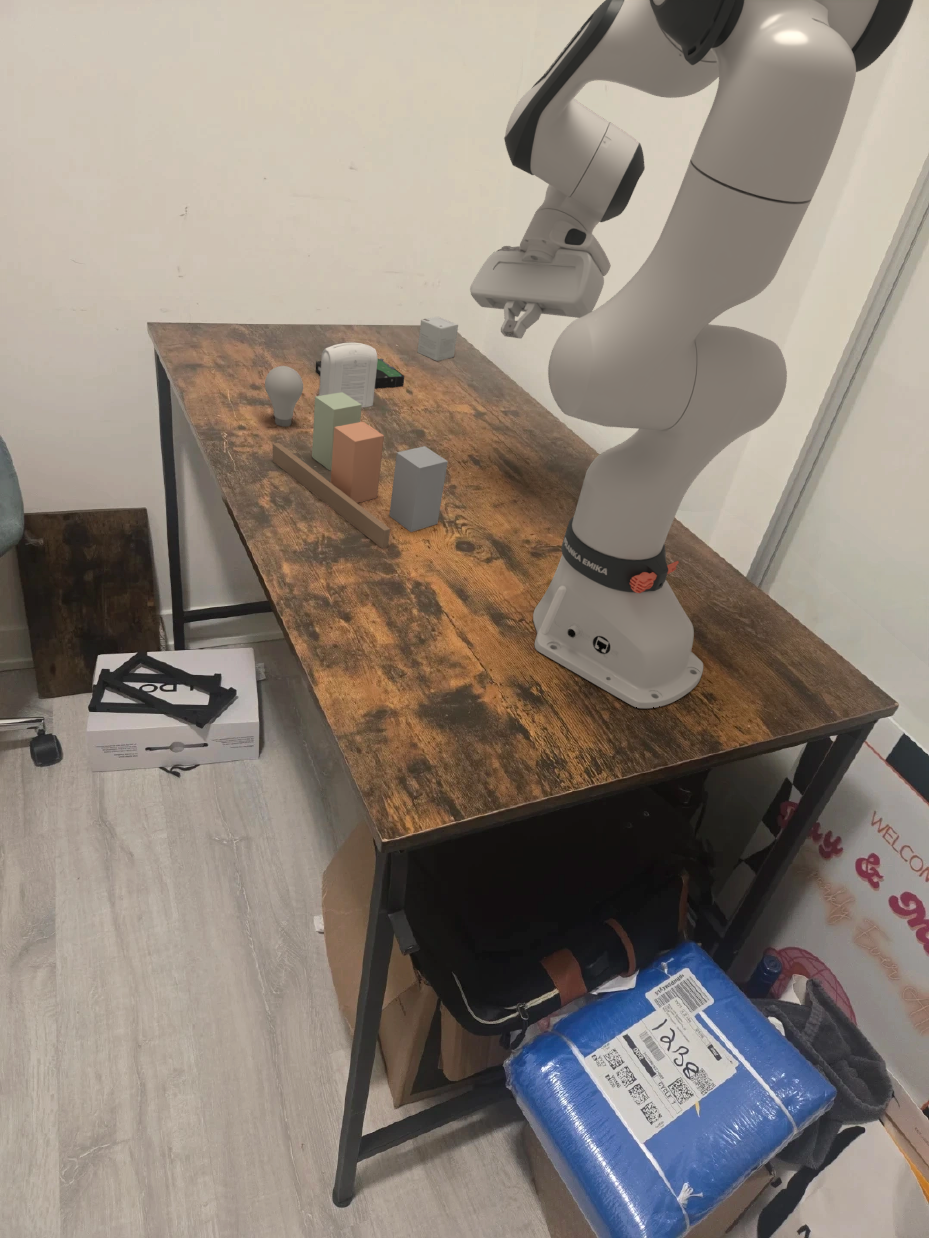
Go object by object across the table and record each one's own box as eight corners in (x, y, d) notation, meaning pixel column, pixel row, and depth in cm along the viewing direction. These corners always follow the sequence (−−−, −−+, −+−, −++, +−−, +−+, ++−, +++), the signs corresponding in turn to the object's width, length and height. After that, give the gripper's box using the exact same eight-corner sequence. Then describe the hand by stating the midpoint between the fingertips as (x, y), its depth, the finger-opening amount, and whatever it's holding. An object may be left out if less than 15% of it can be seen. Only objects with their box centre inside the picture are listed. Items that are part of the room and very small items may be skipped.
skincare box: (454, 357, 177) (459, 324, 173) (436, 362, 173) (441, 328, 169) (434, 348, 180) (439, 315, 175) (416, 352, 176) (420, 319, 171)
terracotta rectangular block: (377, 497, 118) (384, 435, 112) (349, 505, 115) (355, 441, 109) (357, 483, 120) (363, 421, 114) (330, 489, 117) (334, 427, 111)
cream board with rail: (475, 526, 118) (480, 501, 116) (373, 559, 107) (376, 533, 104) (364, 448, 133) (366, 425, 131) (264, 470, 122) (265, 445, 119)
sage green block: (356, 464, 125) (361, 404, 119) (330, 470, 122) (334, 409, 116) (338, 451, 128) (342, 392, 122) (311, 457, 125) (315, 396, 119)
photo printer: (365, 404, 148) (371, 338, 141) (375, 413, 146) (382, 346, 138) (314, 408, 143) (318, 340, 136) (324, 418, 140) (329, 349, 133)
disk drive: (337, 395, 151) (404, 388, 159) (338, 381, 149) (405, 375, 157) (314, 374, 157) (379, 369, 165) (314, 361, 156) (380, 356, 163)
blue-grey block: (437, 523, 114) (447, 461, 108) (410, 532, 111) (419, 468, 105) (415, 508, 117) (424, 446, 111) (389, 515, 114) (396, 452, 108)
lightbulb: (287, 420, 137) (289, 358, 131) (308, 434, 134) (311, 371, 127) (257, 426, 133) (257, 363, 127) (277, 441, 130) (279, 376, 124)
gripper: (486, 231, 115) (445, 315, 115) (603, 235, 103) (558, 329, 102) (507, 260, 120) (467, 340, 120) (621, 267, 108) (578, 356, 107)
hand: (510, 335), depth 111 cm, fingers closed
